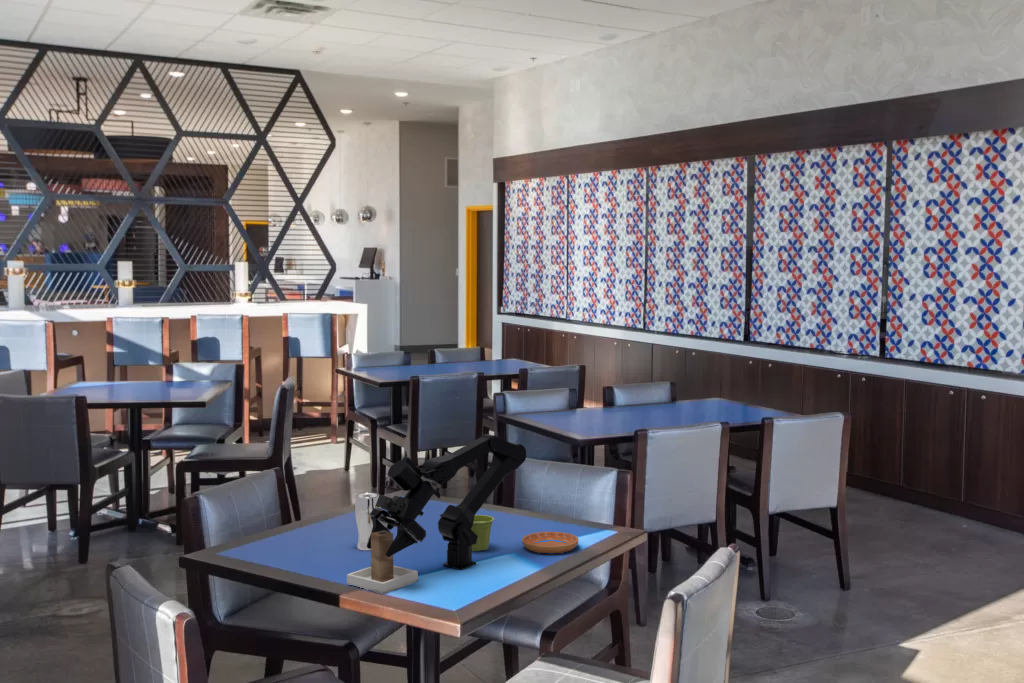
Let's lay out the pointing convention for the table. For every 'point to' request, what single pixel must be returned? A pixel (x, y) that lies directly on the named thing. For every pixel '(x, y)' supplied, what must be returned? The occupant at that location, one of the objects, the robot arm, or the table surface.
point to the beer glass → (364, 517)
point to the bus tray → (364, 581)
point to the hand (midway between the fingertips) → (377, 551)
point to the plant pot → (482, 531)
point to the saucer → (550, 542)
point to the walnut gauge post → (381, 556)
